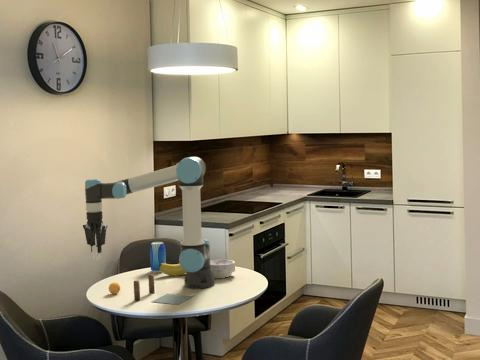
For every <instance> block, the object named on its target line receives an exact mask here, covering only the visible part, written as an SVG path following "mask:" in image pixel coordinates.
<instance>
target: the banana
mask: <svg viewBox="0 0 480 360" xmlns="http://www.w3.org/2000/svg"><path fill="white" fill-rule="evenodd" d="M159 268H160V270H161V271H162V272H161V273H163V274H165V275H167V276H172V277H173V276H175V277H178V276H183V275H186V273H187V271H185V270H184V269H183V268H182V267H181V266H180V263H179V262H178V263H177V264H176V263H175V264H169V263H166V264H164V263H160V264H159Z"/></svg>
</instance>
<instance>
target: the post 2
mask: <svg viewBox="0 0 480 360" xmlns="http://www.w3.org/2000/svg"><path fill="white" fill-rule="evenodd" d="M147 278H148V294H149V295H154V294H155V291H156V290H155V275H154V274H153V273H151V274H150V273H149V274H148V277H147Z"/></svg>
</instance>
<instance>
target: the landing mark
mask: <svg viewBox="0 0 480 360" xmlns="http://www.w3.org/2000/svg"><path fill="white" fill-rule="evenodd" d="M193 297H194V296H193V295H184V294H176V293H175V294H174V293H166V294H164V295H162V296H160V297H158V298H156V299H154V300H152V301H151V303H157V304H167V305H177V306H179V305H181V304H182V303H184V302H186V301H189V299H191V298H193Z"/></svg>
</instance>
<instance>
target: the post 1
mask: <svg viewBox="0 0 480 360" xmlns="http://www.w3.org/2000/svg"><path fill="white" fill-rule="evenodd" d="M140 292H141V287H140V280H137V279H136V280H134V281H133V294H134V296H133V299H134V301H135V302H139V301H141V293H140Z"/></svg>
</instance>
